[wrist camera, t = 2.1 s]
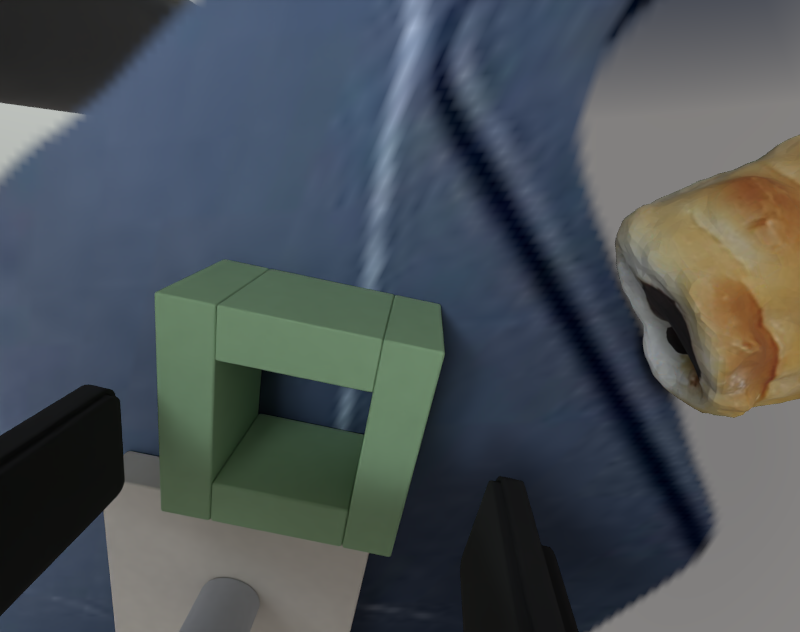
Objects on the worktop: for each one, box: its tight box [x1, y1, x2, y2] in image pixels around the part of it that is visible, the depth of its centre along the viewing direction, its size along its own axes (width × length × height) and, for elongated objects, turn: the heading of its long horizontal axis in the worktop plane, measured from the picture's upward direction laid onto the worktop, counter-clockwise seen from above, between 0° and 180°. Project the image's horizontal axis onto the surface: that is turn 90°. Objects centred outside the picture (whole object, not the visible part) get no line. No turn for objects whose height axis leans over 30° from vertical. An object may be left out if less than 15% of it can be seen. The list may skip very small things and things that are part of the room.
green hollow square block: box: [155, 259, 445, 557], centre depth 12 cm, size 7×7×4 cm
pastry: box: [615, 135, 800, 418], centre depth 10 cm, size 9×7×4 cm
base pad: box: [103, 451, 369, 632], centre depth 15 cm, size 10×10×4 cm
